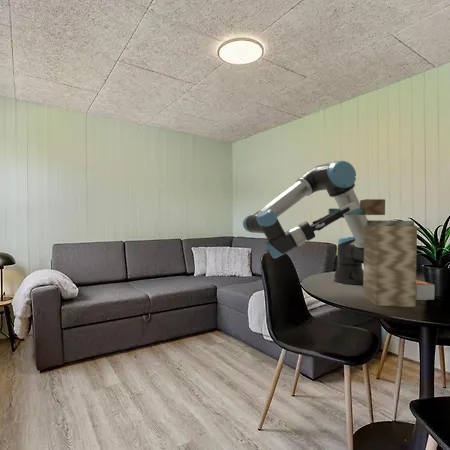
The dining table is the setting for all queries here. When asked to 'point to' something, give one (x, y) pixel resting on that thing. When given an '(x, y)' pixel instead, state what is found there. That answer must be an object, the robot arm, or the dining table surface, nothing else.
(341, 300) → the dining table surface
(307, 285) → the dining table surface
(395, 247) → the wooden board
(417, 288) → the small box
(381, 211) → the teal and brown block
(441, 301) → the dining table surface
